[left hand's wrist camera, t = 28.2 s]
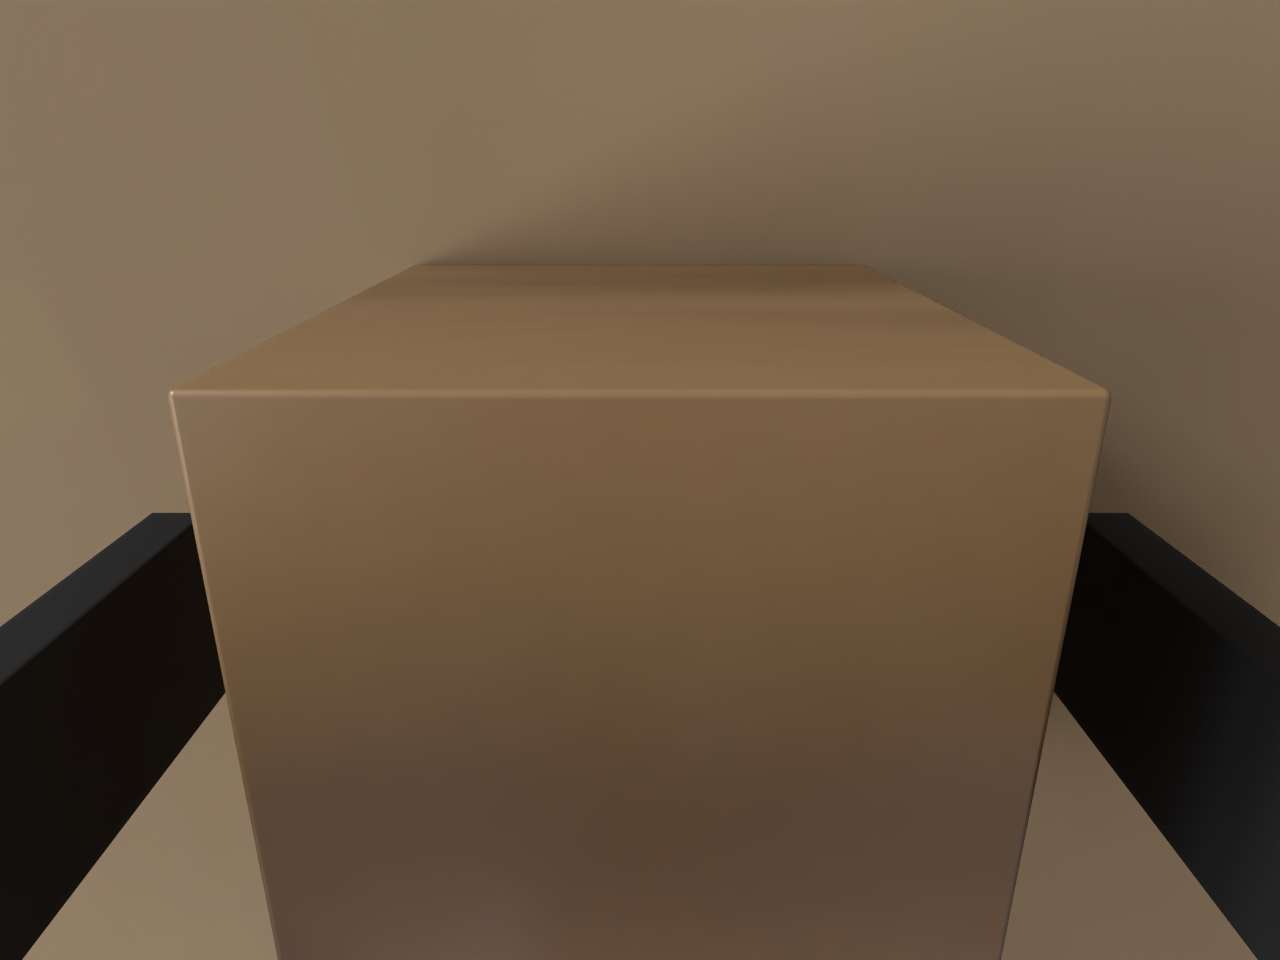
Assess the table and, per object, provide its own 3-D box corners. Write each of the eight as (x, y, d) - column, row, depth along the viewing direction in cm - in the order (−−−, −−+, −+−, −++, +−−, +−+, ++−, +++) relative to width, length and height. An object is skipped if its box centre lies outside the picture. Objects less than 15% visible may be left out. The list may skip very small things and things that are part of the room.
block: (411, 264, 14) (160, 390, 7) (867, 265, 14) (1117, 390, 7) (454, 742, 17) (318, 1180, 10) (824, 742, 17) (960, 1180, 10)
